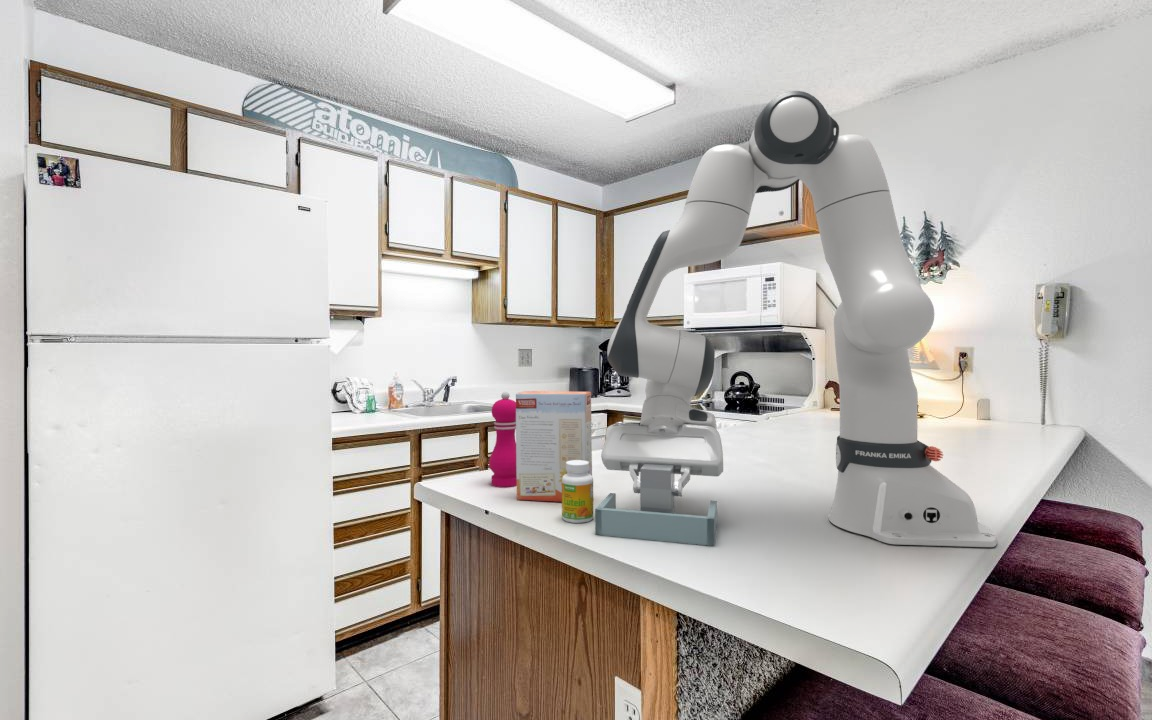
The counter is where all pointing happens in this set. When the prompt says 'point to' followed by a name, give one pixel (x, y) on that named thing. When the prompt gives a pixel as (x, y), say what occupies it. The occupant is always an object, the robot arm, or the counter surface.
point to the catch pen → (655, 524)
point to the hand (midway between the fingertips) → (657, 493)
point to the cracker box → (550, 440)
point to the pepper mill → (504, 443)
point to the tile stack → (657, 488)
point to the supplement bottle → (577, 492)
